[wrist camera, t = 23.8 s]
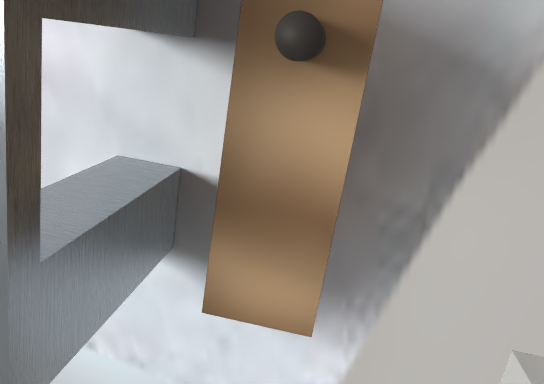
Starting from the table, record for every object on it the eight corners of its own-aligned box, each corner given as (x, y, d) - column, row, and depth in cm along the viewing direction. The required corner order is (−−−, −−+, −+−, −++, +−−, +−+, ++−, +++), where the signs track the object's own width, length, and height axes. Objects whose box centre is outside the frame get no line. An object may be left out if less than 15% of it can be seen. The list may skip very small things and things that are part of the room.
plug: (284, -1, 24) (232, -51, 13) (370, 12, 24) (392, -28, 13) (249, 226, 28) (185, 341, 17) (322, 241, 28) (307, 369, 16)
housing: (105, 233, 30) (-114, 394, 16) (122, -81, 24) (-189, -271, 10) (172, 247, 29) (10, 426, 15) (204, -69, 24) (-1, -251, 10)
